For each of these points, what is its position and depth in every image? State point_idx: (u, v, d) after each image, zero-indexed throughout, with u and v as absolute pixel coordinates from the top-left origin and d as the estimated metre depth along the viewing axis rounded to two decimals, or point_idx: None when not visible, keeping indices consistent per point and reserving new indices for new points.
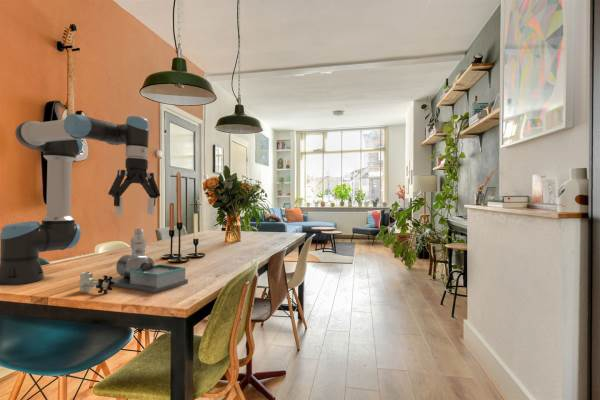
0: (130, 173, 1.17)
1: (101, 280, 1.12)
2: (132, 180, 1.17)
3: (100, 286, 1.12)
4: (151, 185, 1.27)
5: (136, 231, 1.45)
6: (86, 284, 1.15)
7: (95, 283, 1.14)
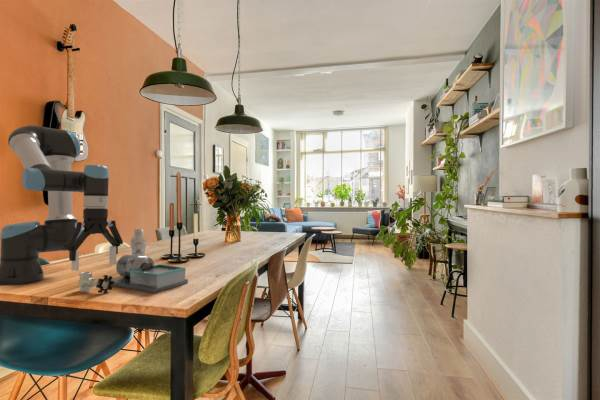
0: (88, 224, 1.12)
1: (101, 280, 1.12)
2: (90, 232, 1.12)
3: (100, 286, 1.12)
4: (113, 233, 1.22)
5: (136, 231, 1.45)
6: (86, 284, 1.16)
7: (95, 283, 1.15)
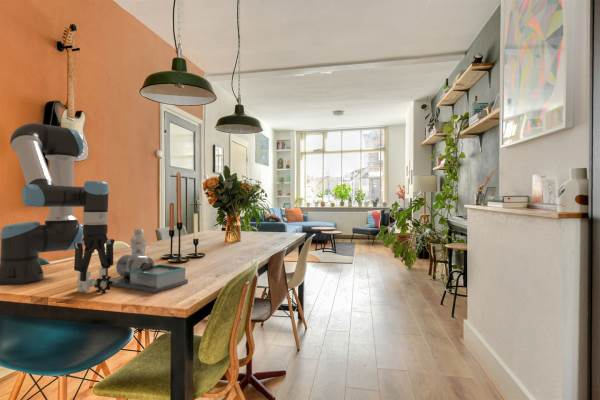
0: (87, 241, 1.12)
1: (99, 280, 1.12)
2: (92, 249, 1.13)
3: (98, 286, 1.12)
4: (107, 252, 1.20)
5: (136, 231, 1.45)
6: None
7: (93, 283, 1.14)
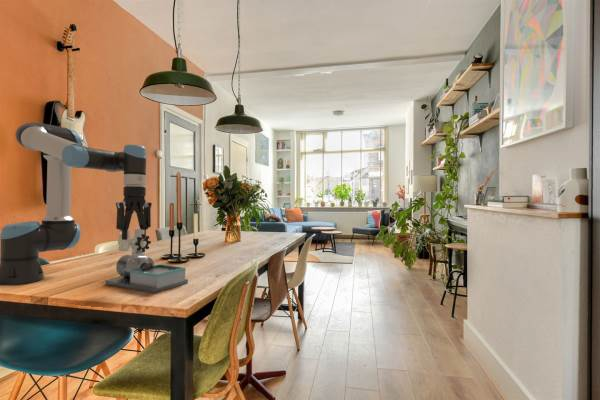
0: (128, 202, 1.18)
1: (140, 238, 1.17)
2: (132, 210, 1.19)
3: (139, 244, 1.17)
4: (145, 214, 1.26)
5: (136, 231, 1.45)
6: None
7: (133, 242, 1.20)
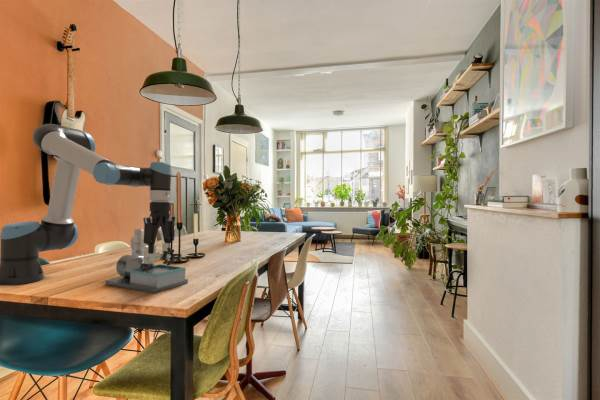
0: (155, 217, 1.23)
1: (166, 252, 1.22)
2: (158, 224, 1.23)
3: (165, 257, 1.22)
4: (169, 228, 1.31)
5: (136, 231, 1.45)
6: None
7: (159, 255, 1.25)
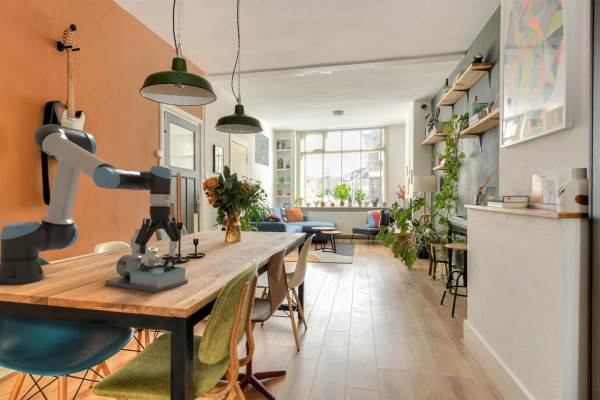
0: (154, 221, 1.22)
1: (168, 260, 1.22)
2: (156, 227, 1.23)
3: (166, 265, 1.22)
4: (173, 229, 1.32)
5: (136, 231, 1.45)
6: (152, 259, 1.25)
7: (160, 261, 1.24)
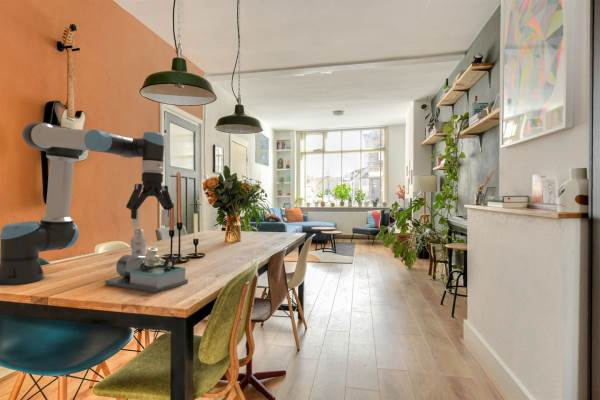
0: (146, 187, 1.22)
1: (168, 260, 1.22)
2: (148, 193, 1.22)
3: (166, 265, 1.22)
4: (165, 197, 1.32)
5: (136, 231, 1.45)
6: (152, 259, 1.25)
7: (160, 261, 1.24)
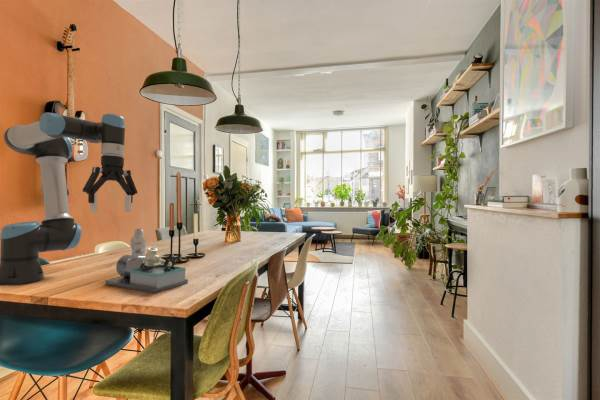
0: (105, 170, 1.18)
1: (168, 260, 1.22)
2: (107, 177, 1.18)
3: (166, 265, 1.22)
4: (128, 182, 1.28)
5: (136, 231, 1.45)
6: (152, 259, 1.25)
7: (160, 261, 1.24)
